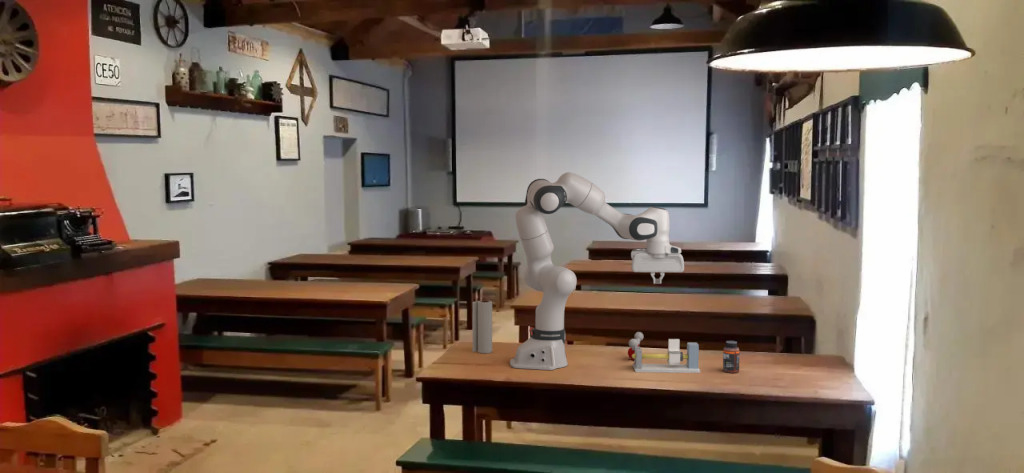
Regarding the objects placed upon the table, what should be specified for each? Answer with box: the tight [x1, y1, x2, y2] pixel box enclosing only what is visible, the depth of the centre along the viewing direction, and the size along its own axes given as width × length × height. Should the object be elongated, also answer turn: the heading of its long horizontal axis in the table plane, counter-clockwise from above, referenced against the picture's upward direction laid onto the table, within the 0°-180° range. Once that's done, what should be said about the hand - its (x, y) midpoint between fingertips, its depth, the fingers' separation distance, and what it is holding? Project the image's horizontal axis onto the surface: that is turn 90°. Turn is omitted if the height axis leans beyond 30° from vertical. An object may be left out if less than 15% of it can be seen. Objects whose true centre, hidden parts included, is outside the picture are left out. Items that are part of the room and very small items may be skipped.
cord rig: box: [632, 341, 701, 374], centre depth 299 cm, size 25×9×10 cm, turn 88°
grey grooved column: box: [472, 300, 493, 354], centre depth 327 cm, size 7×6×21 cm
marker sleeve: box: [666, 338, 681, 365], centre depth 299 cm, size 4×5×9 cm
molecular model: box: [627, 331, 644, 361], centre depth 314 cm, size 18×6×10 cm, turn 162°
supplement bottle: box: [722, 340, 741, 374], centre depth 296 cm, size 6×6×11 cm
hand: (657, 283), depth 309 cm, fingers closed
